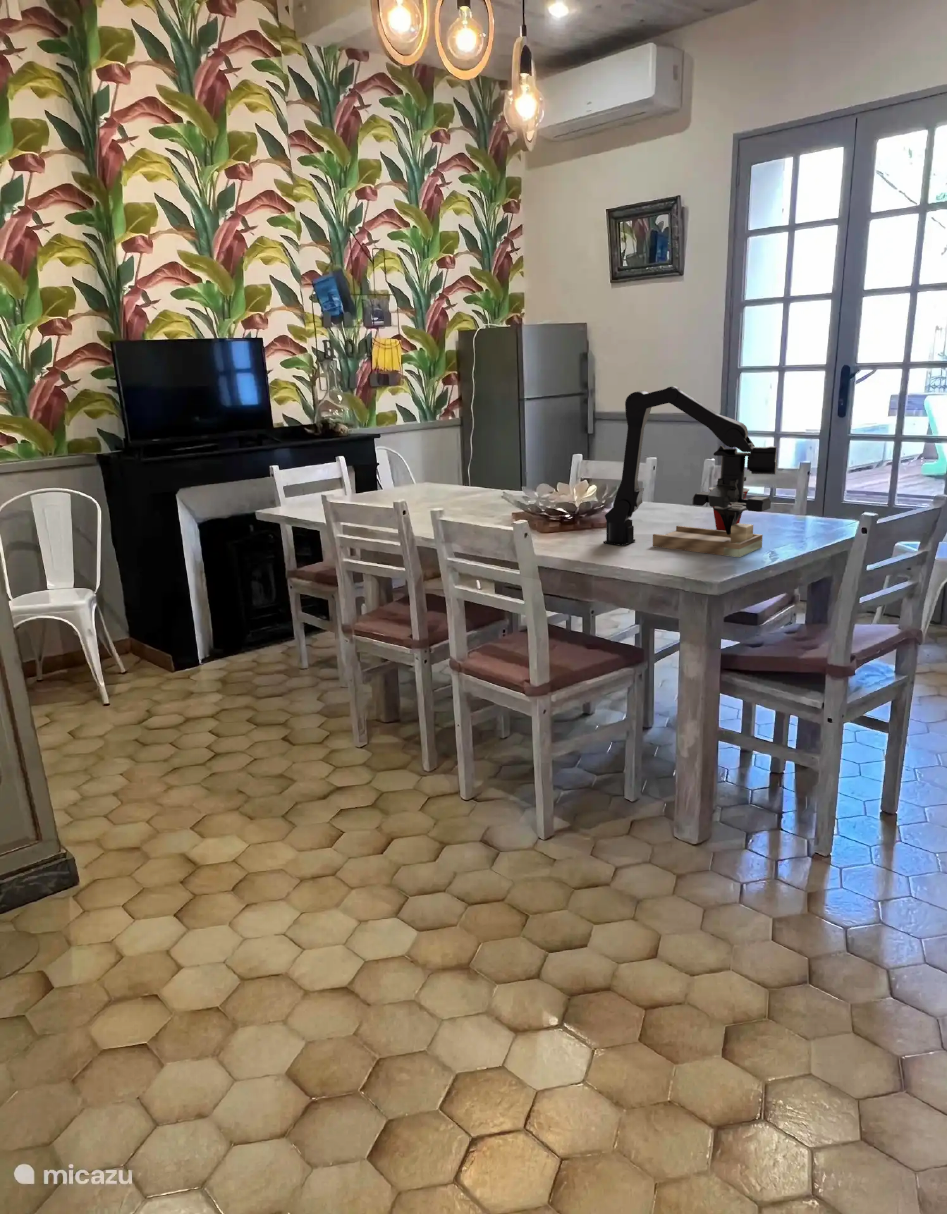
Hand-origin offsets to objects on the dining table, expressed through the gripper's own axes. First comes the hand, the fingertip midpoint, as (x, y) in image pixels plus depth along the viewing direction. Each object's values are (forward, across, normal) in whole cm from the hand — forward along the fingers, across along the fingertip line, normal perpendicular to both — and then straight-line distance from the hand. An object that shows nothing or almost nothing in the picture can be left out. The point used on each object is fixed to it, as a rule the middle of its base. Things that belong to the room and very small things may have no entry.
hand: (728, 534), depth 213 cm
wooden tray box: (+3, -5, -2) cm, 6 cm away
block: (+1, +4, 0) cm, 4 cm away
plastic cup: (+4, -10, +20) cm, 22 cm away
